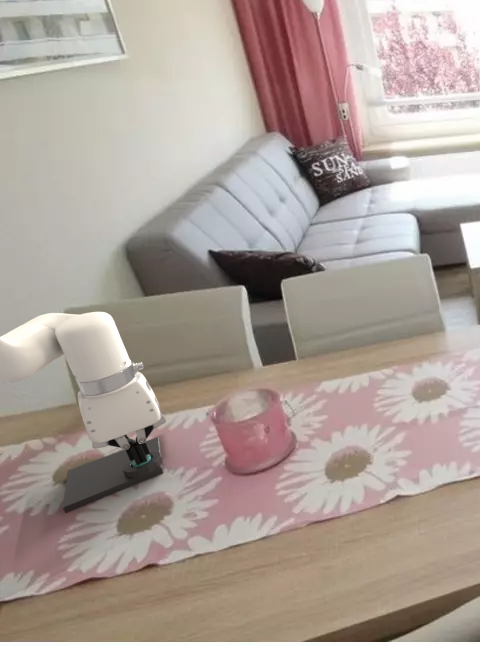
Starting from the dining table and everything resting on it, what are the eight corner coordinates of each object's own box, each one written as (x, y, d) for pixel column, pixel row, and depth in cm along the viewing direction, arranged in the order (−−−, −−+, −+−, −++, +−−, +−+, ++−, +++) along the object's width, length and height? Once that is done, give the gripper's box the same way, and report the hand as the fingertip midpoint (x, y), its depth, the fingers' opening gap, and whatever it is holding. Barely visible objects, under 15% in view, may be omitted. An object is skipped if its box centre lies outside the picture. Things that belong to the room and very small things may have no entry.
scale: (65, 514, 95) (58, 502, 94) (70, 476, 104) (64, 463, 103) (166, 473, 103) (161, 461, 102) (162, 441, 112) (157, 429, 111)
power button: (134, 473, 101) (131, 467, 101) (134, 465, 103) (131, 459, 103) (153, 466, 103) (150, 459, 102) (152, 458, 105) (150, 452, 104)
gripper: (158, 354, 103) (187, 431, 110) (52, 387, 95) (91, 468, 101) (160, 370, 98) (191, 450, 104) (48, 406, 89) (89, 491, 95)
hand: (142, 459), depth 103 cm, fingers closed
